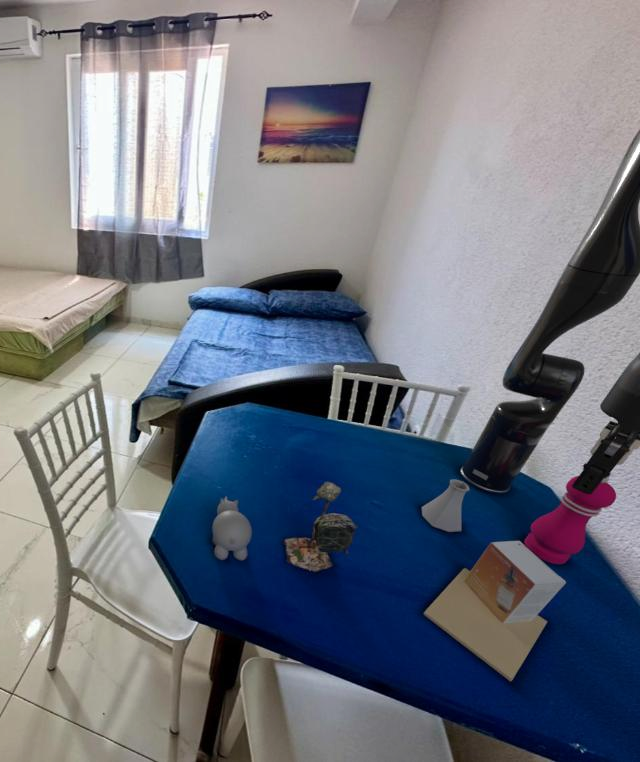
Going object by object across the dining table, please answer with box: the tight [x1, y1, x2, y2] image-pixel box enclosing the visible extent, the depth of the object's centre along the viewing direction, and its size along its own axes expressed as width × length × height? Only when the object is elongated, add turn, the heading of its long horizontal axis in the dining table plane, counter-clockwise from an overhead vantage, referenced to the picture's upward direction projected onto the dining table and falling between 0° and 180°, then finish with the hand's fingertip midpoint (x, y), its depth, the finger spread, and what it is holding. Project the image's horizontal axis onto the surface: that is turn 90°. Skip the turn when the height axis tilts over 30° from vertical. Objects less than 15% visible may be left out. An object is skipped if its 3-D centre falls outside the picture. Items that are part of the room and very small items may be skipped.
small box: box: [464, 540, 567, 623], centre depth 68 cm, size 8×6×10 cm
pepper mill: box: [523, 475, 617, 565], centre depth 76 cm, size 7×7×20 cm
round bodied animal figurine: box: [211, 495, 253, 561], centre depth 79 cm, size 7×12×8 cm, turn 174°
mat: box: [423, 567, 548, 682], centre depth 68 cm, size 16×12×1 cm
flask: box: [421, 478, 470, 533], centre depth 85 cm, size 7×7×10 cm
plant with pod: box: [283, 481, 358, 573], centre depth 73 cm, size 8×11×20 cm
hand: (587, 482), depth 64 cm, fingers open, 6 cm apart
